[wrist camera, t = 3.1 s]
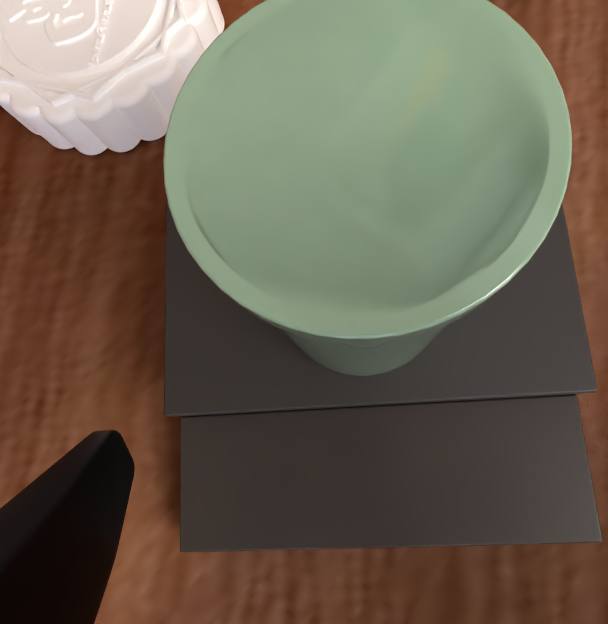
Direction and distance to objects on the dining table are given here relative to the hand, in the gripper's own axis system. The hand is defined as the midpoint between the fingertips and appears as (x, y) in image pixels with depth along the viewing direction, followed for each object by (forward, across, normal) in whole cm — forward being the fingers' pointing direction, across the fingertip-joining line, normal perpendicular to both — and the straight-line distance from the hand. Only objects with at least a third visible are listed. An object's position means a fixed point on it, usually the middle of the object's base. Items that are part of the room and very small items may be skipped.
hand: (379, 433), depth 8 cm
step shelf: (+10, 0, +6) cm, 12 cm away
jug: (+10, 0, +2) cm, 10 cm away
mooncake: (+22, +12, -5) cm, 26 cm away
